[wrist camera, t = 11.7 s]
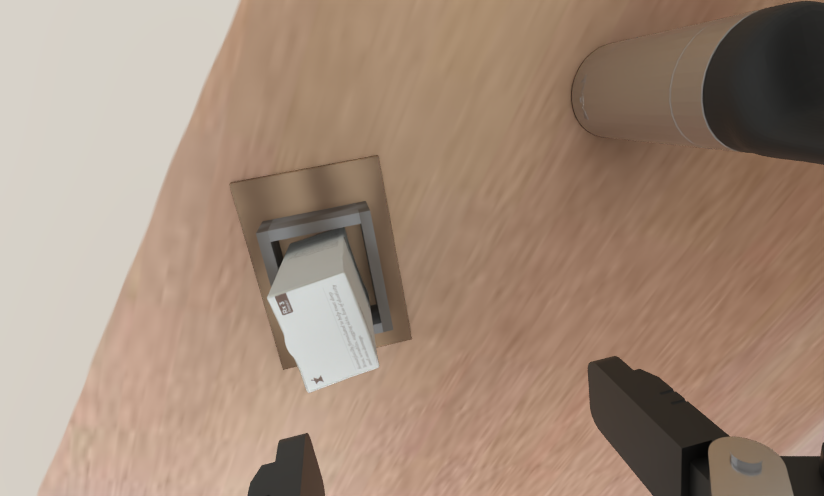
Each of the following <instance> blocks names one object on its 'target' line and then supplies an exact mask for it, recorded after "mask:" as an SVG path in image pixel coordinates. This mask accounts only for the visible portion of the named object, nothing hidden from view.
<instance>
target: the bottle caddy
mask: <svg viewBox="0 0 824 496" xmlns="http://www.w3.org/2000/svg"><path fill="white" fill-rule="evenodd" d="M229 185H230V189H231V192H232V196H233V199H234V203H235V206H236V209H237V213H238V216H239V220H240V223H241V227H242V230H243V233H244V237H245V240H246V244H247V247H248V251H249V254H250V258H251V261H252V264H253V268H254V271H255V275H256V278H257V282H258V285H259V288H260V292H261V295H262V299H263V302H264V306H265V309H266V312H267V316H268V319H269V323H270V326H271V330H272V333H273V337H274V340H275V343H276V347H277V350H278V354H279V357H280V361H281V364H282V367H283V370H284V369H288V368H292V367H297V364H296V361H295V359H294V357H293V356H292V355H291V354H290V353H289V351H288V350H287V347H286V345H285V338H284V335H283V332H282V330H281V328H280V325H279V323H278V321H277V319H276V317H275V315H274V313H273V310H272V308H271V306H270V304H269V302H268V300H267V296H268V294H269V292H270V289H271V287H272V285H273V282H274V280H275V278H276V275H277V273H278V270H279V268H280V266H281V263H282V261H283V259H284V256H285V254H286V252H287V249H288V247H289V244H291V243H293V242H297V241H300V240H303V239H306V238H309V237H312V236H315V235H318V234H321V233H324V232H327V231H330V230H333V229H337V228H342V227H345V230H346V233H347V237H348V241H349V244H350V247H351V250H352V253H353V256H354V259H355V262H356V265H357V267H358V270H359V272H360V275H361V278H362V280H363V283H364V285H365V287H366V289H367V291H368V294H369V301H370V308H371V315H372V322H373V329H374V337H375V344H376V348H377V347H381V346H385V345H389V344H394V343H398V342H402V341H406V340H411V339H412V337H411V331H410V326H409V320H408V315H407V309H406V304H405V299H404V293H403V288H402V282H401V277H400V271H399V266H398V260H397V255H396V249H395V244H394V239H393V233H392V228H391V222H390V217H389V211H388V206H387V200H386V195H385V189H384V184H383V179H382V173H381V168H380V162H379V157H378V155H376V156H371V157H366V158H360V159H355V160H349V161H344V162H339V163H333V164H328V165H323V166H317V167H312V168H306V169H301V170H296V171H290V172H285V173H280V174H274V175H269V176H263V177H258V178H253V179H247V180H242V181H237V182H231V183H230V184H229Z"/></svg>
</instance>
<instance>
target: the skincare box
mask: <svg viewBox="0 0 824 496" xmlns="http://www.w3.org/2000/svg"><path fill="white" fill-rule="evenodd" d="M267 300H268V302H269V304H270V306H271V308H272V310H273V313H274V315H275V317H276V319H277V321H278V323H279V325H280V328H281V330H282V332H283V335H284V338H285V345H286V347H287V350H288V351H289V353H290V354H291V355H292V356H293V357H294V359H295V361H296V364H297V366H298V368H299V370H300V373H301V376H302V379H303V382H304V385H305V388H306V390H307V392H308V393H311V392H313V391H316V390H318V389H321V388H324V387H327V386H329V385H332V384H335V383H337V382H340V381H343V380H345V379H348V378H350V377H353V376H356V375H359V374H362V373H365V372H368V371H370V370H373V369H376V368H378V367H379V362H378V357H377V351H376V344H375V337H374V329H373V322H372V315H371V308H370V301H369V294H368V291H367V289H366V287H365V285H364V283H363V280H362V278H361V275H360V272H359V270H358V267H357V265H356V262H355V259H354V256H353V253H352V250H351V247H350V244H349V241H348V237H347V233H346V230H345V227H342V228H337V229H333V230H330V231H327V232H324V233H321V234H318V235H315V236H312V237H309V238H306V239H303V240H300V241H297V242H293V243H291V244H289V247H288V249H287V252H286V254H285V256H284V259H283V261H282V263H281V266H280V268H279V270H278V273H277V275H276V278H275V280H274V282H273V285H272V287H271V289H270V292H269V294H268V296H267Z"/></svg>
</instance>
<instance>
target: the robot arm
mask: <svg viewBox="0 0 824 496" xmlns="http://www.w3.org/2000/svg"><path fill="white" fill-rule="evenodd" d="M572 104H573V110H574V112H575V115H576V118H577V119H578V121H579V122H580V124H581V125H582V126H583V127H584V128H585V129H586V130H587V131H588V132H590V133H592V134H594V135H596V136H600V137H605V138H615V139H624V140H632V141H641V142H651V143H660V144H670V145H679V146H689V147H698V148H707V149H719V150H728V151H738V152H746V153H755V154H758V155H762V156H767V157H773V158H780V159H788V160H796V161H804V162H810V163H817V164H823V165H824V3H821V2H813V1H801V2H793V3H787V4H783V5H778V6H774V7H770V8H765V9H761V10H757V11H752V12H748V13H743V14H739V15H734V16H730V17H727V18H722V19H718V20H713V21H709V22H704V23H700V24H696V25H691V26H687V27H682V28H678V29H673V30H669V31H664V32H660V33H656V34H651V35H647V36H642V37H637V38H632V39H628V40H624V41H619V42H615V43H610V44H607V45H605V46H602V47H600V48H598V49H597V50H595V51H594V52H592V53H591V54H590V55H589V56H588V57H587V58H586V59H585V60H584V62H583V63H582V65H581V66H580V68H579V69H578V72H577V74H576V76H575V79H574V83H573V87H572ZM588 381H589V398H590V410H591V414H592V417H593V419H594V422H595V424H596V426H597V427H598V429H599V430H600V431H601V433H602V434H603V435H604V436H605V438H606V439H607V440H608V441H609V442H610V444H611V445H612V446H613V447H614V449H615V450H616V451H617V452H618V453H619V455H620V456H621V457H622V458H623V460H624V461H625V462H626V463H627V464H628V466H629V467H630V468H631V469H632V470H633V472H634V473H635V474H636V475H637V477H638V478H639V479H640V480H641V481H642V483H643V484H644V485H645V486H646V488H647V489H648V490H649V491H650V492H651V494H652V495H653V496H824V443H823V445H822V449H821V456H779V455H778V454H777V453H776V452H774V451H773V450H772V449H770V448H769V447H767V446H765V445H763V444H761V443H759V442H757V441H754V440H751V439H747V438H742V437H730V436H729V435H728V434H726V433H725V432H724V431H723V430H721V429H720V428H719V427H718V426H717V425H715V424H714V423H713V422H712V421H711V420H709V419H708V418H707V417H706V416H705V415H703V414H702V413H701V412H700V411H699V410H697V409H696V408H695V407H694V406H693V405H691V404H690V403H689V402H688V401H687V402H686V401H685V399H684V398H683V397H682V396H681V395H679V394H678V393H677V392H674V391H673V389H672V388H671V387H670V386H669V385H667V384H666V383H665V382H664V381H663V380H661V379H660V378H659V377H657V376H655V375H652V374H650V373H648V372H646V371H643V370H641V369H637V370H632V369H631V368H630V367H629V366H628V365H627V364H626V363H624V362H623V361H622V360H621V359H620V358H619V357H617V356H613V357H609V358H605V359H601V360H597V361H593V362H590V363H589V365H588ZM248 496H325V491H324V485H323V480H322V476H321V472H320V469H319V466H318V462H317V459H316V456H315V452H314V449H313V446H312V442H311V439H310V436H309V434H308V433H305V434H302V435H298V436H294V437H290V438H286V439H282V440H280V441H279V443H278V448H277V454H276V460H275V462H273V463H269V464H265V465H262V466H261V467H260V469H259V470H258V472H257V474H256V475H255V477H254V478H253V480H252V481H251V483H250V487H249V491H248Z"/></svg>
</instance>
